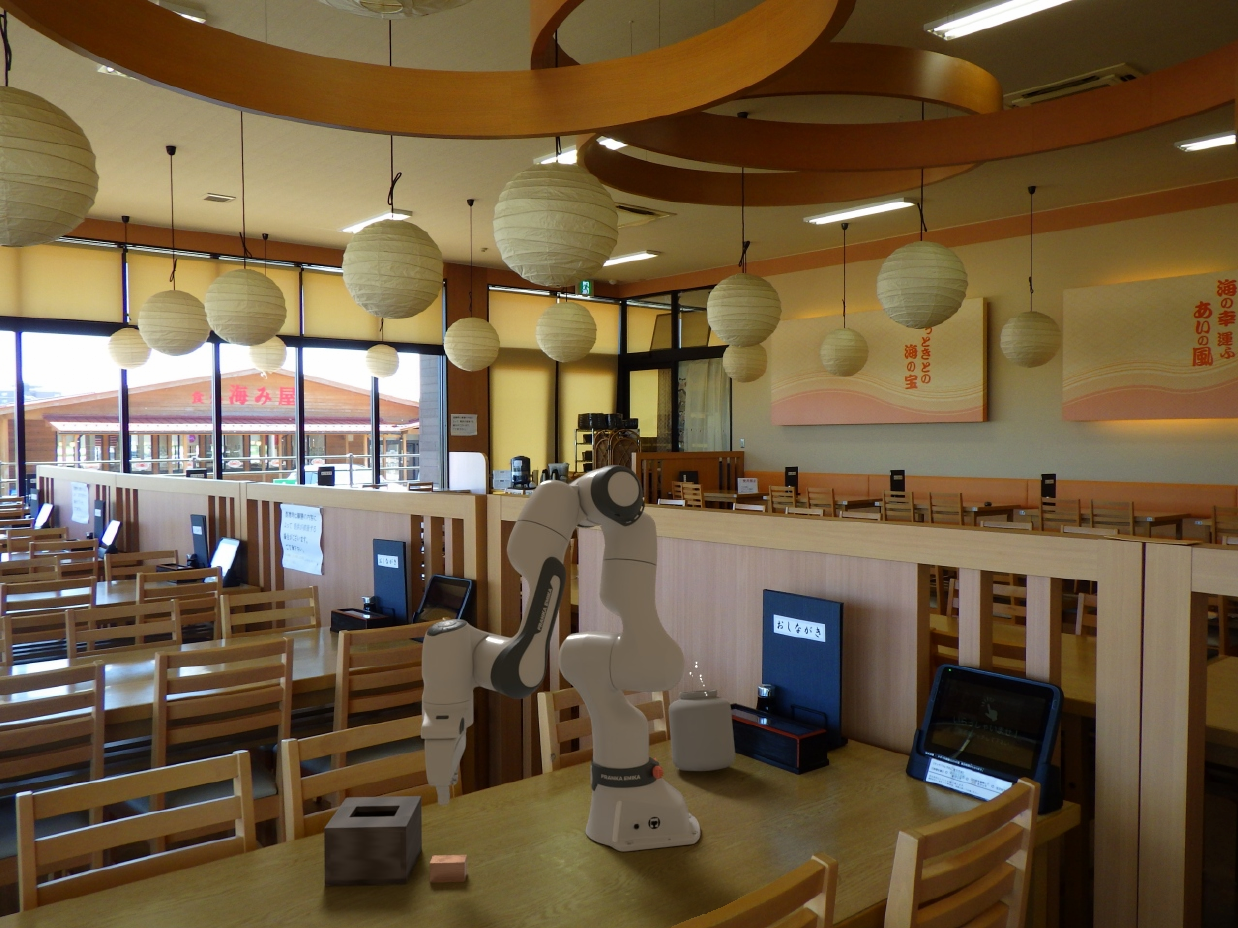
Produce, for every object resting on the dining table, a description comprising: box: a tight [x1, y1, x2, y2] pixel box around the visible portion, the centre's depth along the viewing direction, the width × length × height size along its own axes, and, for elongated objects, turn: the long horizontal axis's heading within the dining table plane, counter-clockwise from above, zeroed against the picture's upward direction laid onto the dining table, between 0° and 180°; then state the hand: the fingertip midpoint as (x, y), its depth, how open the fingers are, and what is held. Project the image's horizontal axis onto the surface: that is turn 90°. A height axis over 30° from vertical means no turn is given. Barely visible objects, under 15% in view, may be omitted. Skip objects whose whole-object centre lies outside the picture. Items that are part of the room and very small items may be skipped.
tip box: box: [323, 795, 423, 887], centre depth 159 cm, size 14×14×10 cm
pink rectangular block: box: [429, 854, 468, 883], centre depth 155 cm, size 6×3×4 cm, turn 92°
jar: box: [668, 661, 736, 772], centre depth 210 cm, size 19×15×25 cm
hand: (448, 793), depth 155 cm, fingers open, 8 cm apart
